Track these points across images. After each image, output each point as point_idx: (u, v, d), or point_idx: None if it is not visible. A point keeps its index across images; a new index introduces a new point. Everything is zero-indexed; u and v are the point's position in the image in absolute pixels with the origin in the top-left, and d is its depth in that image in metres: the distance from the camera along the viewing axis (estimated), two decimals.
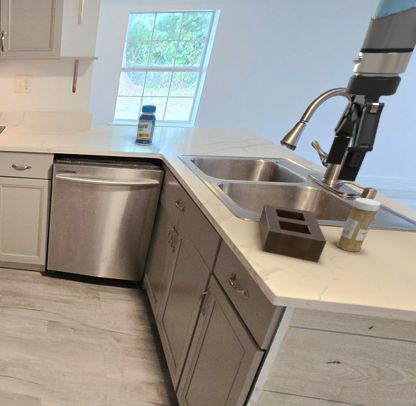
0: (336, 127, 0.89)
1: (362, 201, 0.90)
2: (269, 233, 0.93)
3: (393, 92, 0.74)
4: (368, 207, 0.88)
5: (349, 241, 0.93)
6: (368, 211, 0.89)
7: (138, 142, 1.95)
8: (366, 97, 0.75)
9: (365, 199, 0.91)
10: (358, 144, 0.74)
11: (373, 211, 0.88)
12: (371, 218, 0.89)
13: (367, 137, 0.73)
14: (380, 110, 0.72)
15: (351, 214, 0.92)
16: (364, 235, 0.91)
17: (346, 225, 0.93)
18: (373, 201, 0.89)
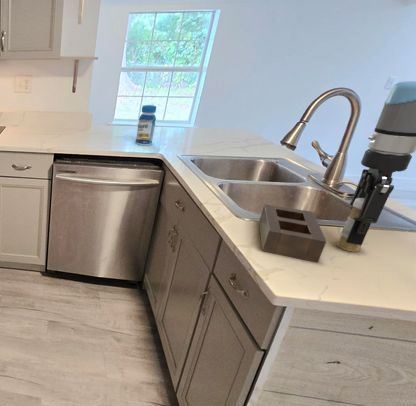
0: (352, 201, 0.95)
1: (362, 201, 0.90)
2: (269, 233, 0.93)
3: (404, 168, 0.83)
4: None
5: None
6: None
7: (138, 142, 1.95)
8: (380, 172, 0.84)
9: None
10: (364, 217, 0.87)
11: None
12: None
13: (373, 213, 0.86)
14: (389, 192, 0.83)
15: (351, 214, 0.92)
16: None
17: (346, 225, 0.93)
18: None
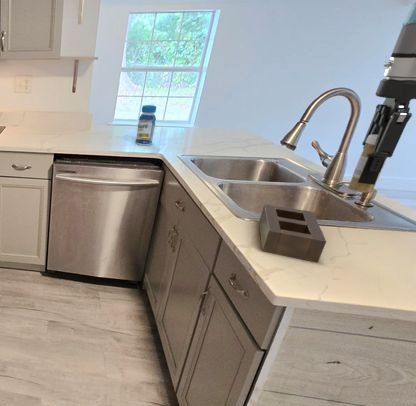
0: (364, 140, 0.89)
1: (376, 136, 0.83)
2: (269, 233, 0.93)
3: None
4: None
5: None
6: None
7: (138, 142, 1.95)
8: (397, 100, 0.78)
9: None
10: (379, 152, 0.81)
11: None
12: None
13: (388, 145, 0.79)
14: (406, 121, 0.77)
15: (364, 152, 0.86)
16: None
17: (358, 164, 0.87)
18: None
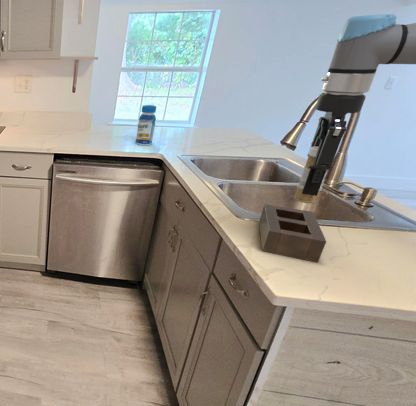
0: None
1: (317, 148, 0.85)
2: (269, 233, 0.93)
3: (358, 110, 0.79)
4: None
5: None
6: None
7: (138, 142, 1.95)
8: (333, 114, 0.80)
9: None
10: (318, 164, 0.83)
11: None
12: None
13: (327, 158, 0.81)
14: (341, 134, 0.78)
15: (307, 163, 0.88)
16: None
17: (302, 176, 0.89)
18: None
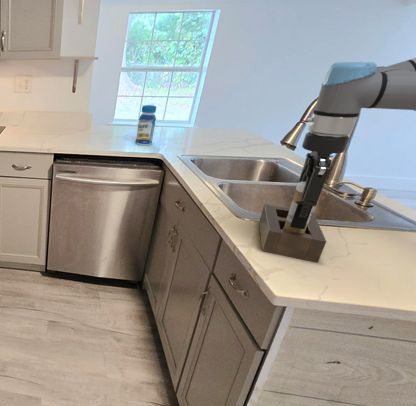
0: None
1: (304, 184, 0.89)
2: (269, 233, 0.93)
3: (342, 150, 0.82)
4: None
5: None
6: None
7: (138, 142, 1.95)
8: (318, 154, 0.84)
9: None
10: (304, 201, 0.86)
11: None
12: None
13: (313, 195, 0.85)
14: (326, 174, 0.82)
15: (294, 198, 0.91)
16: None
17: (290, 209, 0.93)
18: None
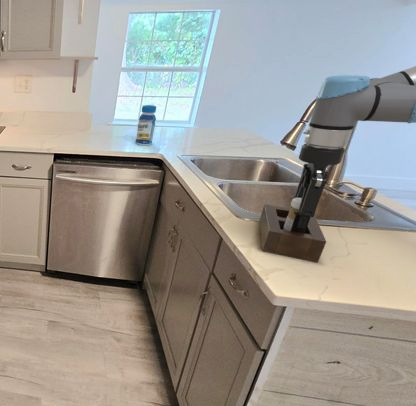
0: (295, 195, 0.96)
1: (298, 201, 0.91)
2: (269, 233, 0.93)
3: (338, 162, 0.83)
4: None
5: None
6: None
7: (138, 142, 1.95)
8: (315, 165, 0.85)
9: None
10: (302, 212, 0.87)
11: None
12: None
13: (310, 206, 0.86)
14: (323, 186, 0.83)
15: (289, 214, 0.93)
16: None
17: (285, 224, 0.94)
18: None
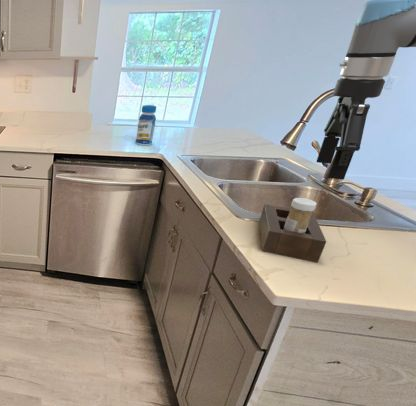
0: (326, 127, 0.92)
1: (300, 202, 0.90)
2: (269, 233, 0.93)
3: (378, 94, 0.78)
4: (306, 207, 0.89)
5: None
6: (306, 211, 0.90)
7: (138, 142, 1.95)
8: (353, 99, 0.79)
9: (302, 199, 0.92)
10: (346, 144, 0.78)
11: (310, 211, 0.90)
12: (308, 218, 0.91)
13: (354, 137, 0.77)
14: (366, 111, 0.76)
15: (290, 214, 0.93)
16: None
17: (286, 225, 0.94)
18: (309, 201, 0.90)
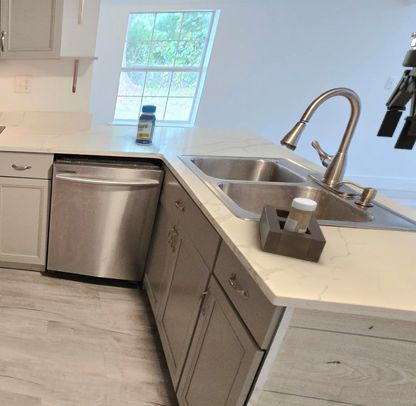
0: (388, 101, 0.93)
1: (300, 201, 0.90)
2: (269, 233, 0.93)
3: None
4: (306, 207, 0.89)
5: None
6: (306, 211, 0.90)
7: (138, 142, 1.95)
8: None
9: (302, 199, 0.92)
10: None
11: (310, 211, 0.90)
12: (309, 218, 0.91)
13: None
14: None
15: (290, 214, 0.93)
16: None
17: (286, 225, 0.94)
18: (310, 201, 0.91)
